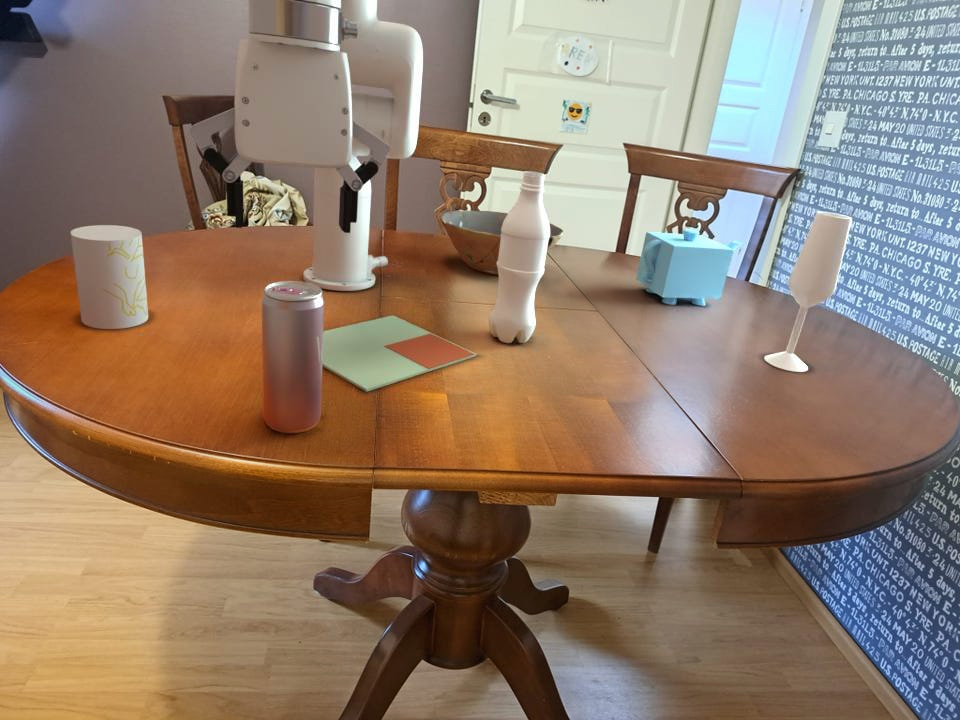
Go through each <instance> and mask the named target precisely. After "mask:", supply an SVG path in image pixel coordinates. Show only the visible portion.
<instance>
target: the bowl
mask: <svg viewBox="0 0 960 720" xmlns="http://www.w3.org/2000/svg"><path fill="white" fill-rule="evenodd" d="M508 213H509V212H500V211H490V210H452V211H451V210H450V211H446V212H444V213H441V214H440V215H439V219H440V222H441V223H442V226H443V228H444V229H445V231H446V233H447V235H448V237H449V239H450V241H451V243H452V245H453V246H454V248H455V250H456V251H457V253H458V255H459V256H460V257H461V259H462V260H463V261H464V263H465V264H466V265H467V266H469V267H470V268H471V269H474V270H476V271H479V272H482V273H486V274H492V275H496V276H497V275H498V276H499V274H498V267H497V261H498V255H499V248H500V241H501V233H502V231H501V228H502V224H503V222H504V220H505V218H506V216H507V215H508ZM549 226H550V238H549V240H548V246H547V252H549V250H551V248H553V247H554V246H555V245H556V244H557V243H558V242H559V240H560V239H562V236H563V234H564V230H563V229H562V228H561V227H558V226H557V225H555V224H553V223H550V222H549Z"/></svg>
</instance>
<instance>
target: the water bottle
mask: <svg viewBox="0 0 960 720" xmlns="http://www.w3.org/2000/svg"><path fill="white" fill-rule="evenodd" d="M522 175H523V177H522V181H521V183H520V184H521V185H520V186H519V190H520V193H519V195H518V198H517V200H516V201H515V203H514V204H513V206H512V207H511V209H510V210H509V211H508V212H507V213H508V215H507V216H506V218H505V220H504V222H503V224H502V228H501V231H502V233H501V241H500V248H499V255H498V261H497V267H498V274H499V275H498V290H497V295H496V296H497V297H496V300H495V303H494V306H493V308H492V311H491V312H490V314H489V319H488V322H489V323H488V325H489V330H490V333H491V335H492V337H494V338H497V339H498V340H499V341H500V342H502V343H506V344H511V343H512V342H513V341H514V340H515V338H516V340H517V342H518V343H519V344H525V343H527V342H528V341H529V339H530V338H531V337H532V335H533V334H534V331H535V328H536V324H537V321H536V314H535V296H536V290H537V287H538V284H539V282H540V281H541V279H542V277H543V275H544V273H545V270H546V269H545V264H546V259H547V258H546V257H547V253H548V251H547V246H548V240H549V238H550V226H549V223H550V222H549V219H548V215H547V212H546V210H545V206H544V201H543V193H545V188H544V187H545V185H544V182H545V177H546V175H545V174H544V173H543V172H537V171H531V170H525V171H523V174H522Z"/></svg>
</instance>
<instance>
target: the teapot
mask: <svg viewBox="0 0 960 720" xmlns="http://www.w3.org/2000/svg"><path fill="white" fill-rule="evenodd" d="M744 244H746V243H745V241H737V240H735V241H734V240H733V241H730V242H728V243H727V244H726V245H725V244H722V243H720V242H718V241H715V240H713V239H712V238H708V237H706V236H704V235H702V234H700V232H699V231H697V230H694V229H691V228H690V229H688V228H684V229H683V230H682V233H671V232H656V231H646V232H645V236H644V241H643V245H642V251H641V254H640V260H639V263H638V268H637V273H636V278H635V281H637V282H639V283H640V284H641V285H643V286H645V287H646V290H645V291H646V292H647V293H650V294H657V295H658V296H660V297H661V298H662V300H661V302H662V304H663V303H664V304H666V305H671V306H674V305H677V300H678V299H690V301H691V303H692V304H693V305H696V306H706V302H705V300H721V298H722V294H723V291H724V287H725V284H726V280H727V277H728V273H729V270H730V266H731V262H732V258H733V254H734V251H735V250H736V249H737V248H738V247H740V246H742V245H744Z"/></svg>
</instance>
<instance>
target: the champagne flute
mask: <svg viewBox="0 0 960 720" xmlns="http://www.w3.org/2000/svg"><path fill="white" fill-rule="evenodd" d="M852 220H853V218H852V217H851V216H850V215H849V216H848V215H845V214H840V213H835V212H829V211H816V214H815V216H814V219H813V221H812V224H811V226H810V228H809V230H808V233H807V235H806V238H805V240H804V242H803V244H802V247H801V250H800V251H799V254H798V257H797V258H796V261H795V263H794V266H793V268H792V270H791V273H790V275H789V277H788V280H787V286H788V289H789V292H790V294H791V296H792V297H793V299H794V300H795V302H796V303H797V304H798V305H799V309H798V312H797V315H796V318H795V320H794V324H793V327H792V331H791V334H790V336H789V340H788V343H787V346H786V349H785V351H780V352H776V353H772V354H768V355H767V354H766V355H765V356H764V357H763V358H764V361H765V362H767V363H768V364H769V365H771V366H773V367H776V368H778V369H781V370H784V371H789V372H795V373H804V372H807V371H808V370H809V367H808V366H807V365H806V363H804V361H802V360H801V358H799V357H798V356H797V354H795V353H794V352H795V350H796V346H797V343H798V341H799V337H800V335H801V331H802V329H803V325H804V322H805V320H806V317H807V313H808V310H809V308H813V307H816V306H818V305H819V304H821V303H823V302H825V301H827V300H828V299H829V298H831V297H832V296H833V295H834V294H835V292H836V289H837V284H838V281H839V276H840V271H841V268H842V263H843V259H844V254H845V250H846V247H847V242H848V237H849V233H850V230H851V229H850V228H851V225H852V222H853V221H852Z"/></svg>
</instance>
